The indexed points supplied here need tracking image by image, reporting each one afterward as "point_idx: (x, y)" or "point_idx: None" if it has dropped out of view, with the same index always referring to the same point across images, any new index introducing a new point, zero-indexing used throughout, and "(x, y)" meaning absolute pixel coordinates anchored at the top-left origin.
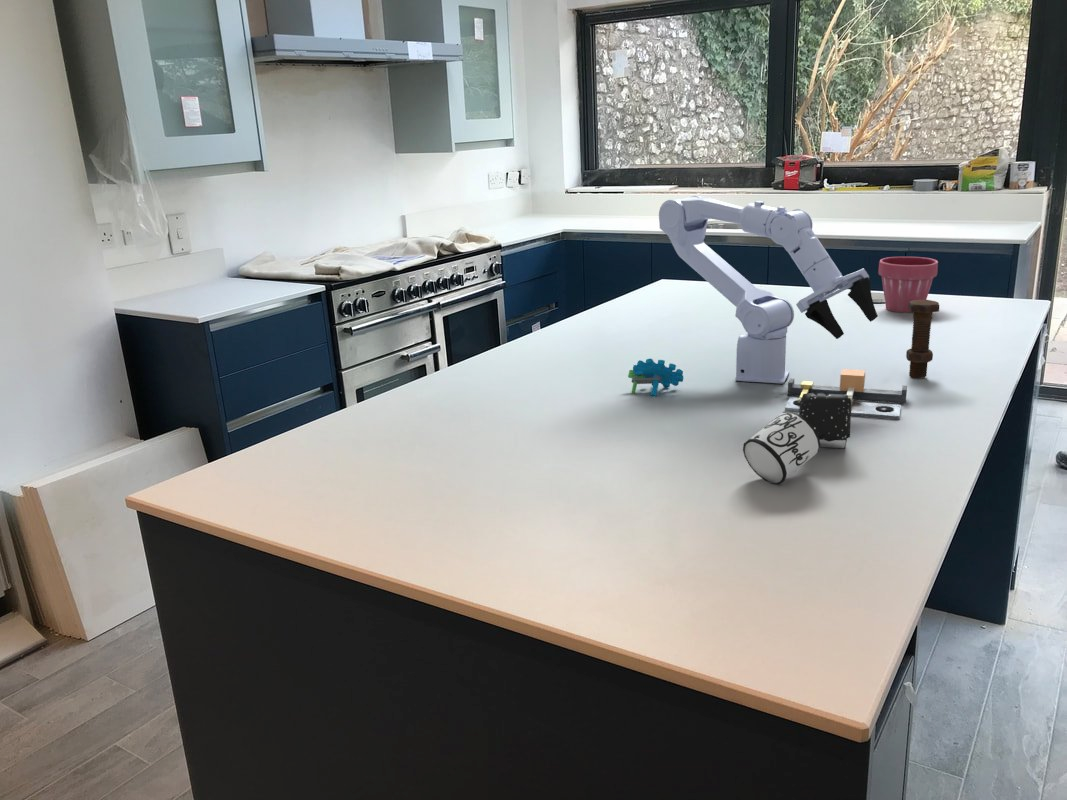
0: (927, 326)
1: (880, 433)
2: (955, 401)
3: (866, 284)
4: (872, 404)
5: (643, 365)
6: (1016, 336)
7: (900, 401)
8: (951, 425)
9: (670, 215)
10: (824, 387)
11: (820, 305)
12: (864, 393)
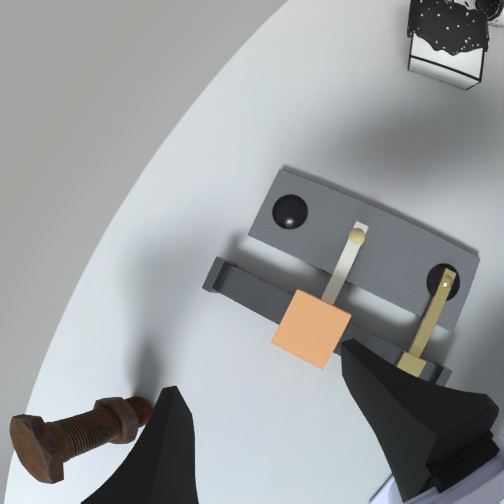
0: (63, 420)
1: (339, 111)
2: (145, 259)
3: (111, 497)
4: (301, 247)
5: None
6: (17, 475)
7: (234, 266)
8: (213, 140)
9: None
10: None
11: (474, 404)
12: None
